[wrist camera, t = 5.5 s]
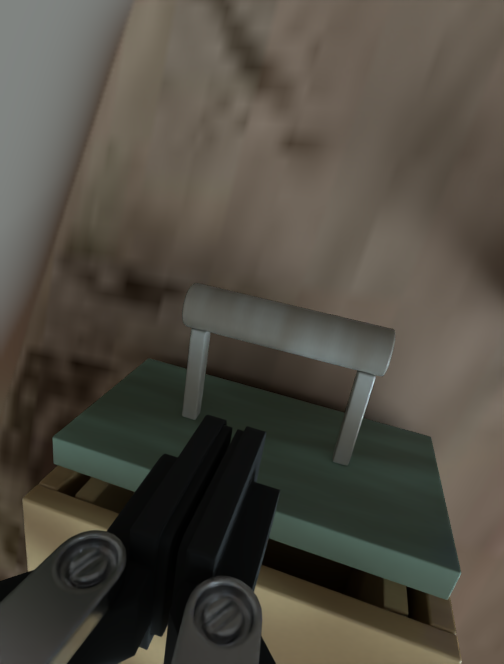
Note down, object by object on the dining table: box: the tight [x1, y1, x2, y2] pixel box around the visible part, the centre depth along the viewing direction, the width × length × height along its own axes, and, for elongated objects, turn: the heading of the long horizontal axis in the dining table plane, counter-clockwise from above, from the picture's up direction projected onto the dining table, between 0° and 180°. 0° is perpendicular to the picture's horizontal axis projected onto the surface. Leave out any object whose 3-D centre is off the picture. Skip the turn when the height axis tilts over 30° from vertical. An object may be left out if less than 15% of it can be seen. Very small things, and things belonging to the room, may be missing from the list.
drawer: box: [53, 283, 461, 617], centre depth 18 cm, size 20×13×7 cm
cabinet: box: [22, 466, 461, 664], centre depth 20 cm, size 16×15×9 cm
